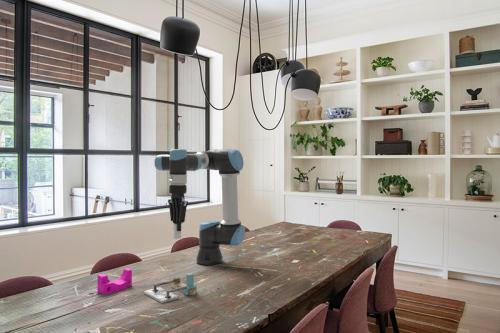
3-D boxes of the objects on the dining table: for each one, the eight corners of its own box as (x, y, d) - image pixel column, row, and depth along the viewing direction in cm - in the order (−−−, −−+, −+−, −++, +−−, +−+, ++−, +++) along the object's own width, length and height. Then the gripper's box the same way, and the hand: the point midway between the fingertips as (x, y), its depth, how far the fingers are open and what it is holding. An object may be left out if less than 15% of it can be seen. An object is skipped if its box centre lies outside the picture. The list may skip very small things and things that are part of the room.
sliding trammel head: (192, 290, 170) (192, 272, 170) (196, 292, 168) (196, 273, 168) (165, 298, 161) (165, 278, 161) (168, 300, 159) (168, 280, 159)
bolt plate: (159, 289, 173) (159, 286, 173) (178, 299, 161) (178, 295, 161) (143, 293, 168) (143, 290, 168) (161, 303, 156) (161, 300, 156)
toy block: (104, 295, 166) (104, 278, 166) (97, 291, 171) (97, 275, 170) (134, 286, 178) (134, 270, 178) (127, 283, 182) (127, 268, 182)
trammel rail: (176, 285, 179) (176, 276, 179) (195, 294, 167) (195, 284, 167) (150, 291, 170) (150, 281, 170) (169, 301, 158) (169, 290, 158)
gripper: (162, 184, 169) (162, 237, 169) (178, 185, 160) (177, 241, 160) (177, 183, 175) (176, 235, 174) (193, 184, 165) (192, 239, 165)
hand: (177, 238), depth 167 cm, fingers closed
